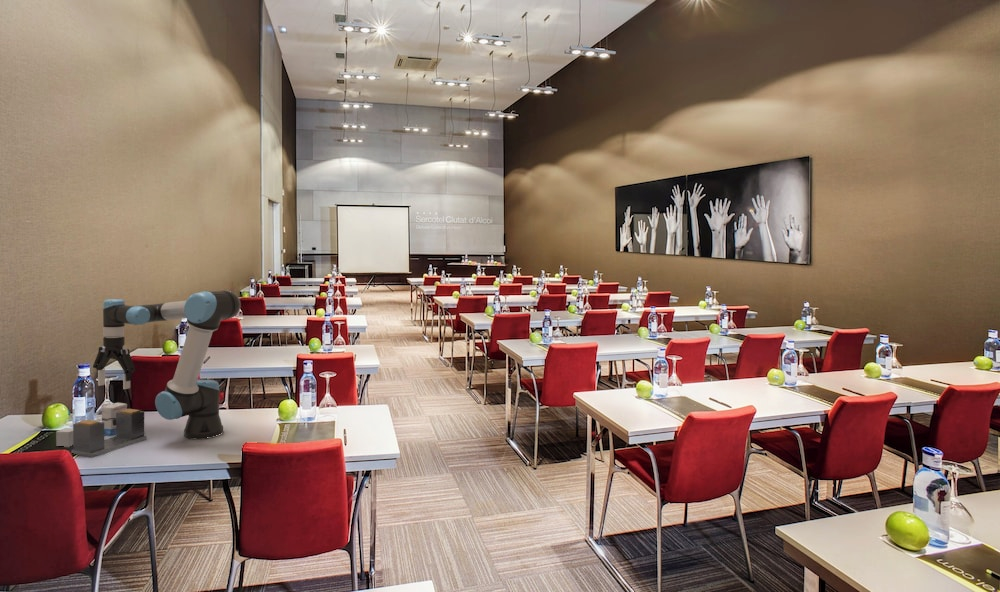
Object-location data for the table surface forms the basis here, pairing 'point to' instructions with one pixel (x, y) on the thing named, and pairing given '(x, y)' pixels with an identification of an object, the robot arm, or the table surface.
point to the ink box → (111, 417)
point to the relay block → (64, 437)
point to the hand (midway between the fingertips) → (114, 386)
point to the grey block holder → (92, 438)
